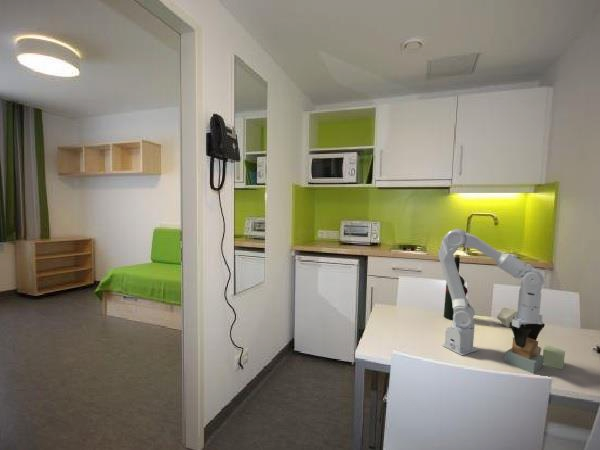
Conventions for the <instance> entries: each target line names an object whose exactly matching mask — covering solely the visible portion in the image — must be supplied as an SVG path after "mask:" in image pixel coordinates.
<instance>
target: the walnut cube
mask: <svg viewBox="0 0 600 450" xmlns="http://www.w3.org/2000/svg"><path fill="white" fill-rule="evenodd" d="M538 347H539V341H538V340H534V339H531V338H528V337H527V339H526V343H525V346H524V348H522V347H519V346H517V345H516V343H515V338H514V336H513V337H512V347H511V348H512V352H513V353H516V354H518V355H520V356H523V357H525V358H527V359H530V358H533V357H535V356H537V349H538Z"/></svg>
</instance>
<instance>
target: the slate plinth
mask: <svg viewBox="0 0 600 450" xmlns="http://www.w3.org/2000/svg"><path fill="white" fill-rule="evenodd" d="M504 356H505V357H504V363H506V364H508V365H511V366H513V367H516V368H518V369H521V370H523V371H525V372H527V373H530V374H532V373H534V374H536V373H537V372H538V371H539V370H541V369H542V368H543V367H544V364H543V360H544V356H543V354H537V356H535V357H533V358H530V359H527V358H525V357H523V356H520V355H518V354H516V353H513V352H512V347H511V348H510V349H507V350H506V351H505V355H504Z"/></svg>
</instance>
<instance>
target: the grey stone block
mask: <svg viewBox="0 0 600 450" xmlns="http://www.w3.org/2000/svg"><path fill="white" fill-rule="evenodd" d="M516 315H517V310H515V309H514V308H513V307H511V306H510V307H509V306H508V307H502V308H500V310H499V311H498V314H497V316H496V318H497V319H498V320H499V321H500V322H501V323H502V324H503V325H504V326H505V328H511V327H510V323H511V322H512V320H514V319H515V317H516Z"/></svg>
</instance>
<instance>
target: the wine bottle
mask: <svg viewBox="0 0 600 450" xmlns="http://www.w3.org/2000/svg"><path fill="white" fill-rule="evenodd" d="M460 259H461V255H460V254H454V260H455V264H456V267H457V270H458V273H459V272H460ZM459 276H460V280H461V283H462V286H463V289H464V292H465V296H466V297H467V295H468V292H469V291H468V287H466V283H465V282H466V281H465V280H464V278H463V276H461V275H459ZM445 283H446V284H445V293H444V294H445V296H444V297H445V298H444V309H443V317H444V318H445V319H447V320H449V321H453V314H454V310H453V306H452V298H451V295H450V292H449V289H448V285H447V282H446V281H445Z"/></svg>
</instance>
